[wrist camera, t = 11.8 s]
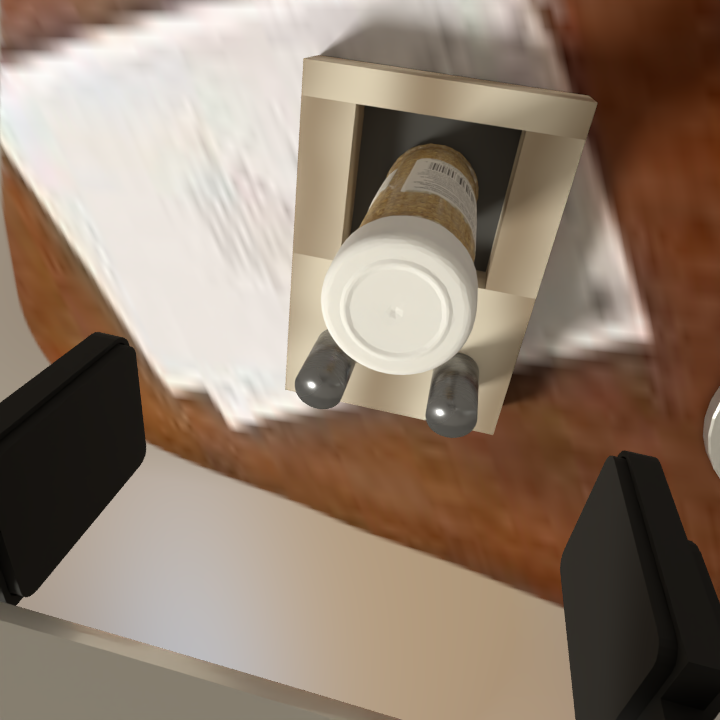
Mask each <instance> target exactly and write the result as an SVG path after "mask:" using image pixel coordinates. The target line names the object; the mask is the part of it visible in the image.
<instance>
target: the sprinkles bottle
mask: <svg viewBox="0 0 720 720" xmlns="http://www.w3.org/2000/svg"><path fill="white" fill-rule="evenodd" d="M478 190H479V186H478V180H477V177H476V173H475V171H474V169H473V168H472V166H471V164H470V163H469V162H468V161H467V160H466V158H465V157H464V156H463V155H462V154H461V153H460V152H458V151H456V150H454V149H453V148H451V147H448V146H445V145H439V144H431V143H430V144H426V145H420V146H416V147H413V148H411V149H409V150H408V151H406V152H405V153H404V154H402V155H401V156H400V157H399V158H398V159H397V160H396V162H395V163H394V164H393V166H392V167H391V169H390V170H389V172H388V174H387V177H386V179H385V181H384V182H383V184H382V185H381V187H380V189H379V190H378V192H377V194H376V196H375V197H374V199H373V201H372V203H371V205H370V207H369V210H368V212H367V214H366V216H365V218H364V220H363V221H362V223H361V225H360V227H359V228H358V229H357V230H356V231H355V232H353V233H352V234H351V235H350V236H349V237H348V238H347V239H346V240H345V242H344V243H343V244H342V246H341V247H340V249H339V251H338V252H337V254H336V256H335V257H334V259H333V261H332V263H331V265H330V267H329V269H328V271H327V273H326V275H325V278H324V282H323V286H322V292H321V307H322V313H323V317H324V321H325V324H326V327H327V329H328V331H329V333H330V334H331V336H332V338H333V339H334V341H335V342H336V343H337V345H338V346H339V347H340V348H341V349H342V350H343V351H344V352H345V353H346V354H347V355H348V356H350V357H351V358H352V359H354V360H355V361H357V362H358V363H360V364H362V365H363V366H366V367H368V368H370V369H372V370H375V371H378V372H382V373H387V374H394V375H411V374H417V373H423V372H426V371H429V370H432V369H434V368H436V367H438V366H440V365H442V364H444V363H445V362H447V361H448V360H450V359H451V358H452V357H453V356H454V355H455V354H456V353H457V352H458V351H459V350H460V349H461V348H462V347H463V345H464V344H465V343H466V341H467V339H468V337H469V335H470V334H471V331H472V329H473V325H474V322H475V317H476V311H477V300H478V280H477V274H476V269H475V266H474V260H475V252H476V229H477V205H476V202H477V200H478Z"/></svg>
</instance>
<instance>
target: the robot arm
mask: <svg viewBox="0 0 720 720" xmlns="http://www.w3.org/2000/svg"><path fill="white" fill-rule="evenodd" d="M703 438H704V444H705V449H706V453H707V455H708V457H709V459H710V462H711V464H712V466H713V468H714V470H715V472H716V473H717V475H718V476H719V478H720V386H719V388H718V390H717V391H716V393H715V394H714V396H713V398H712V399H711V402H710V404H709V407H708V410H707V413H706V416H705V420H704V430H703ZM145 454H146V441H145V432H144V423H143V414H142V405H141V396H140V387H139V378H138V368H137V359H136V352H135V350H134V348H133V347H130V346H129V343H128V341H127V339H125V338H123V337H118V336H114V335H109V334H105V333H101V332H95V333H93V334H91V335H90V336H89V337H87V338H86V339H85V340H83V341H82V342H81V343H79V344H78V345H77V346H75V347H74V348H73V349H71V350H70V351H69V352H67V353H66V354H65V355H63V356H62V357H61V358H59V359H58V360H57V361H55V362H54V363H53V364H51V365H50V366H49V367H47V368H46V369H45V370H43V371H42V372H41V373H40V374H38V375H37V376H35V377H34V378H33V379H31V380H30V381H29V382H27V383H26V384H25V385H24V386H22V387H21V388H19V389H18V390H17V391H15V392H14V393H13V394H11V395H10V396H9V397H7V398H6V399H5V400H3V401H2V402H1V403H0V720H401V719H398V718H394V717H391V716H388V715H384V714H381V713H377V712H374V711H371V710H367V709H364V708H361V707H358V706H354V705H351V704H348V703H344V702H341V701H338V700H335V699H331V698H328V697H324V696H321V695H318V694H315V693H311V692H308V691H305V690H301V689H297V688H294V687H291V686H288V685H284V684H281V683H278V682H274V681H271V680H267V679H264V678H261V677H257V676H254V675H250V674H247V673H244V672H240V671H237V670H234V669H230V668H227V667H224V666H220V665H217V664H213V663H210V662H206V661H203V660H200V659H196V658H193V657H190V656H186V655H183V654H179V653H176V652H173V651H169V650H166V649H163V648H159V647H155V646H152V645H149V644H146V643H142V642H138V641H135V640H132V639H128V638H124V637H121V636H118V635H114V634H110V633H107V632H104V631H101V630H97V629H94V628H90V627H87V626H83V625H80V624H76V623H73V622H70V621H66V620H63V619H59V618H56V617H52V616H49V615H45V614H42V613H39V612H35V611H32V610H28V609H25V608H21V607H18V606H16V605H17V604H18V603H19V601H20V600H21V599H22V598H23V597H28V596H31V595H32V594H34V593H35V592H36V591H37V590H38V588H39V587H40V586H41V585H42V584H43V582H44V581H45V580H46V579H47V578H48V576H49V575H50V574H51V573H52V571H53V570H54V569H55V568H56V566H57V565H58V564H59V563H60V562H61V561H62V559H63V558H64V557H65V556H66V555H67V553H68V552H69V551H70V550H71V549H72V547H73V546H74V544H76V542H77V541H78V540H79V539H80V538H81V536H82V535H83V534H84V533H85V531H86V530H87V529H88V528H89V527H90V526H91V524H92V523H93V522H94V521H95V519H96V518H97V517H98V516H99V515H100V513H101V512H102V511H103V510H104V509H105V507H106V506H107V505H108V504H109V503H110V501H111V500H112V499H113V498H114V496H115V495H116V494H117V493H118V492H119V490H120V489H121V488H122V487H123V486H124V484H125V483H126V482H127V481H128V480H129V478H130V477H131V476H132V475H133V473H134V472H135V471H136V470H137V469H138V467H139V466H140V465H141V463H142V462H143V459H144V457H145ZM560 573H561V583H562V593H563V602H564V612H565V622H566V631H567V641H568V650H569V661H570V670H571V680H572V690H573V699H574V709H575V719H576V720H720V603H719V600H718V598H717V595H716V592H715V590H714V587H713V584H712V581H711V579H710V576H709V573H708V571H707V568H706V565H705V563H704V560H703V557H702V555H701V552H700V551H699V549H698V547H697V545H696V544H694V543H693V542H692V541H689V540H687V537H686V534H685V531H684V528H683V526H682V523H681V520H680V517H679V514H678V512H677V509H676V506H675V503H674V500H673V498H672V495H671V492H670V489H669V486H668V484H667V481H666V478H665V475H664V472H663V470H662V467H661V464H660V462H659V460H658V459H657V458H655V457H651V456H647V455H642V454H638V453H633V452H629V451H622V452H621V453H620V454H619V455H618V457H615V456H609V457H608V458H607V460H606V461H605V463H604V466H603V468H602V470H601V472H600V474H599V476H598V478H597V481H596V483H595V485H594V487H593V489H592V491H591V493H590V496H589V498H588V500H587V502H586V504H585V506H584V508H583V511H582V513H581V515H580V517H579V519H578V521H577V523H576V526H575V528H574V530H573V532H572V534H571V536H570V539H569V541H568V543H567V545H566V547H565V549H564V552H563V554H562V558H561V565H560Z"/></svg>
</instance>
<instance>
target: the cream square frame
mask: <svg viewBox="0 0 720 720" xmlns="http://www.w3.org/2000/svg"><path fill="white" fill-rule="evenodd" d="M596 106H597V102H596V101H595V100H593V99H592V98H591V97H590V96H588V95H581V94H574V93H568V92H561V91H554V90H548V89H541V88H534V87H528V86H521V85H514V84H508V83H501V82H494V81H488V80H481V79H475V78H468V77H461V76H455V75H448V74H441V73H435V72H428V71H421V70H415V69H408V68H401V67H395V66H388V65H381V64H375V63H368V62H361V61H355V60H348V59H341V58H335V57H328V56H321V55H318V56H313V57H308V58H304V59H303V77H302V95H301V114H300V132H299V150H298V168H297V186H296V204H295V222H294V240H293V258H292V276H291V294H290V312H289V330H288V348H287V366H286V384H285V390H290V391H294V392H296V393H297V395H298V396H299V398H300V399H301V400H302V401H303V402H304V403H306V404H307V405H309V406H311V407H313V408H317V409H329V408H332V407H334V406H336V405H337V404H338V403H339V402H345V403H349V404H354V405H359V406H363V407H368V408H372V409H377V410H382V411H386V412H391V413H395V414H400V415H404V416H409V417H414V418H418V419H423V420H426V421H427V424H428V425H429V427H430V428H431V429H432V430H433V431H434V432H436V433H437V434H439V435H442V436H445V437H450V438H456V437H461V436H464V435H466V434H468V433H470V432H471V431H472V430H473V431H478V432H483V433H487V434H492V435H493V433H494V430H495V427H496V424H497V421H498V417H499V414H500V411H501V408H502V405H503V402H504V398H505V395H506V392H507V389H508V386H509V382H510V379H511V376H512V373H513V370H514V367H515V363H516V360H517V357H518V354H519V351H520V348H521V344H522V341H523V338H524V335H525V332H526V329H527V325H528V322H529V319H530V316H531V313H532V309H533V306H534V303H535V300H536V297H537V294H538V290H539V287H540V284H541V281H542V278H543V275H544V271H545V268H546V265H547V262H548V259H549V256H550V252H551V249H552V246H553V243H554V240H555V237H556V233H557V230H558V227H559V224H560V221H561V217H562V214H563V211H564V208H565V205H566V202H567V198H568V195H569V192H570V189H571V186H572V183H573V179H574V176H575V173H576V170H577V167H578V164H579V160H580V157H581V154H582V151H583V148H584V145H585V141H586V138H587V135H588V132H589V129H590V125H591V122H592V119H593V116H594V113H595V110H596ZM430 143H431V144H439V145H445V146H448V147H451V148H453V149H454V150H456V151H458V152H460V153H461V154H462V155H463V156H464V157H465V158H466V160H467V161H468V162H469V163H470V164H471V166H472V168H473V169H474V171H475V173H476V177H477V180H478V186H479V190H478V200H477V202H476V205H477V229H476V252H475V260H474V266H475V269H476V274H477V280H478V300H477V311H476V317H475V322H474V325H473V329H472V331H471V334H470V335H469V337H468V339H467V341H466V343H465V344H464V345H463V347H462V348H461V349H460V350H459V351H458V352H457V353H456V354H455V355H454V356H453V357H452V358H451V359H450V360H448V361H447V362H445V363H444V364H442V365H440V366H438V367H436V368H434V369H432V370H429V371H426V372H423V373H417V374H411V375H394V374H387V373H382V372H378V371H375V370H372V369H370V368H368V367H366V366H363V365H362V364H360V363H358V362H357V361H355V360H354V359H352V358H351V357H350V356H348V355H347V354H346V353H345V352H344V351H343V350H342V349H341V348H340V347H339V346H338V345H337V343H336V342H335V341H334V339H333V338H332V336H331V334H330V333H329V331H328V329H327V327H326V324H325V321H324V317H323V313H322V307H321V292H322V286H323V282H324V278H325V275H326V273H327V271H328V269H329V267H330V265H331V263H332V261H333V259H334V257H335V256H336V254H337V252H338V251H339V249H340V247H341V246H342V244H343V243H344V242H345V240H346V239H347V238H348V237H349V236H350V235H351V234H352V233H353V232H355V231H356V230H357V229H358V228H359V227H360V225H361V223H362V221H363V220H364V218H365V216H366V214H367V212H368V210H369V207H370V205H371V203H372V201H373V199H374V197H375V196H376V194H377V192H378V190H379V189H380V187H381V185H382V184H383V182H384V181H385V179H386V177H387V174H388V172H389V170H390V169H391V167H392V166H393V164H394V163H395V162H396V160H397V159H398V158H399V157H400V156H401V155H402V154H404V153H405V152H406V151H408V150H409V149H411V148H413V147H416V146H420V145H426V144H430Z"/></svg>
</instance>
